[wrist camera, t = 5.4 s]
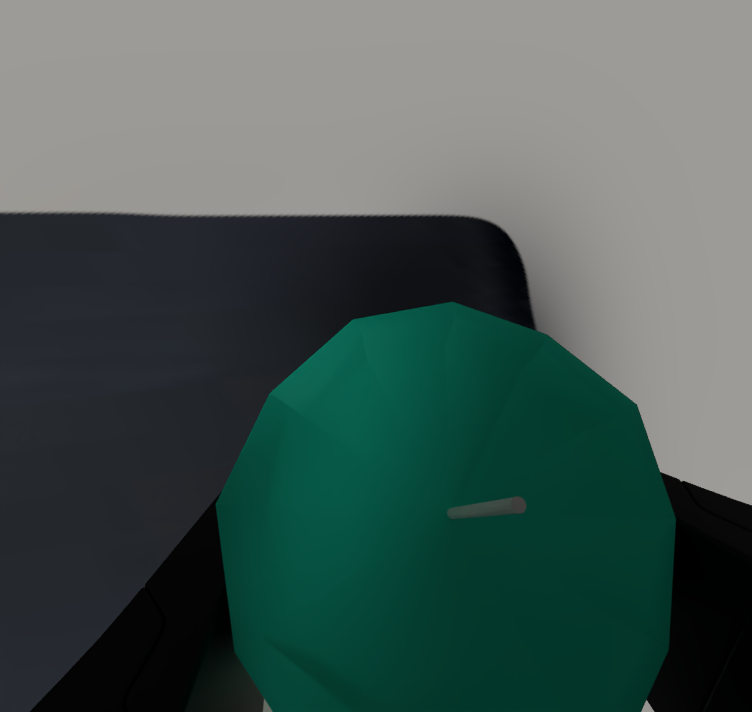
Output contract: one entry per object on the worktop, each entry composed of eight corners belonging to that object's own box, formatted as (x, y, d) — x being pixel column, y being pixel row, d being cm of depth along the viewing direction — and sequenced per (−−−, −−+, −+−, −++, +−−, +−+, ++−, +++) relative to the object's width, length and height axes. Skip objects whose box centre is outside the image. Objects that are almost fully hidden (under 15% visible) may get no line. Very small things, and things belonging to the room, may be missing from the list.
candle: (398, 414, 16) (561, 181, 5) (481, 560, 15) (962, 647, 4) (255, 487, 15) (72, 360, 4) (330, 663, 13) (399, 1408, 2)
